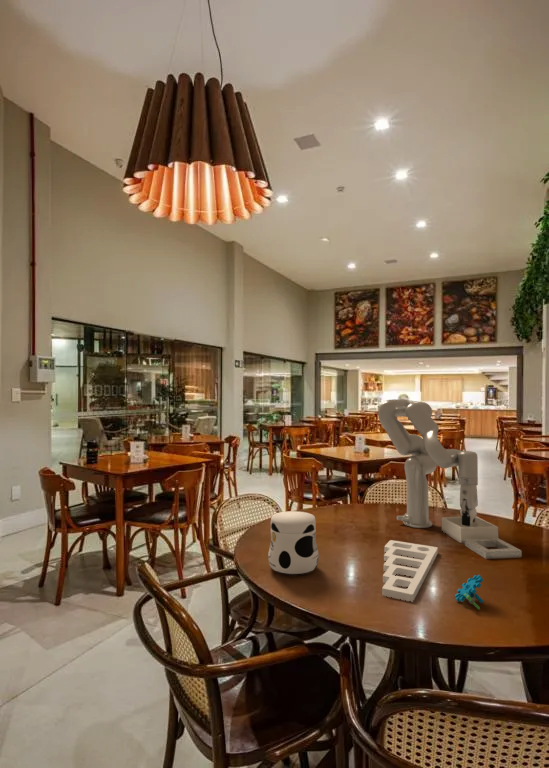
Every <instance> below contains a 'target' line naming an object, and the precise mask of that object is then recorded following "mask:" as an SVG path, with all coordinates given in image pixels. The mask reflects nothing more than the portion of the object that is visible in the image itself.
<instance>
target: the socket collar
mask: <svg viewBox="0 0 549 768" xmlns="http://www.w3.org/2000/svg"><path fill="white" fill-rule="evenodd" d="M464 546H465V547H466V548H468V549H469V550H471V551H473V552H474V553H476V554H477V555H479V556H481V557H482V558H484V560H490V559H491V560H492V559H513V558H522V554H523V553H522V549H519V548H517V547H516V546H514V545H512V544H511V543H508V542H507V541H504V540H503V539H502V538H499V537H498V538H489V539H466V540H465V543H464ZM489 548H490V549H489Z"/></svg>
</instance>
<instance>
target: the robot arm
mask: <svg viewBox="0 0 549 768" xmlns="http://www.w3.org/2000/svg"><path fill="white" fill-rule="evenodd" d="M432 415H433V408H432V406H431V405H430V404H428V403H427V402H423V401H417V400H410V399H399V398H398V399H395V398H394V399H387V400H384V401H383V402H382V403H381V404H380V405H379V408H378V414H377V417H378V419H379V420H378V421H379V423H380V425H381V426H382V428H383V429H384V431H385V432H386V435H387V436H388V437H389V439H390V441H391V443H392V444H393V447H394V448H395V449H396V451H397V452H398V454H400V456H409V457H408V458H407V459H406V460H405V462H404V474H405V480H406V512H405V513H404V514H403V515H396V520H397V521H401V522H403V524H404V525H405V526H407V527H410V528H414V529H415V528H417V529H427V528H430V527H432V526H433V522H432V521H431V520H429V518H430V517H429V514H430V513H429V483H428V479H427V475H428V474H429V475H430V474H432V473H434V472H435V471H436V469H437V466H438V467H439V468H441V469H448V468H452V467H458V468H457V469H458V470H457V471H458V472H457V473H458V481H457V482H458V484H459V485H460V488H459V490H460V491H459V507H460V509H461V510H462V515H461V517H462V525H465V526H470V516H469V514H470V509H471V510H473V509H474V508H475V509H477V507H478V504H479V503H478V502H479V499H478V497H479V496H478V487H477V486H478V485H479V478H478V477H479V476H478V475H479V473H478V470H479V469H478V466H479V463H478V462H479V461H478V459H479V458H478V453H477V452H475V451H471V450H460V449H456V448H449V449H445V447H444V446H443V445H442V443H441V442H440V440H439V438H438V432H439V425H438V424H437V422H436V421H435V420H434V419H433V418H432ZM399 417H403V418H404V417H405V418H408V420H409V421H410V422H411V424H412V425H413V427H415V429H416V430H417V432H418V433H419V435H418V434H416V433H415V434H414V433H413V434H410V433H409V432H408V431H407V429H406V428H405V426H404V425H403V423H402V422H401V421H400V420H399V419H398V418H399ZM466 507H468V508H466ZM466 510H468V513H467V511H466ZM473 522H475V518H474V520H473Z"/></svg>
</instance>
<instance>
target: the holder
mask: <svg viewBox="0 0 549 768" xmlns="http://www.w3.org/2000/svg"><path fill="white" fill-rule="evenodd" d="M385 552H386V553H385ZM438 553H439V549H438V546H437V547H436V546H431V545H426V544H419V543H412V542H405V541H401V540H400V541H399V540H393V539H390V540H389V541H388V542H387V543H385V545H384V554H383V561H386V562H384V563H383V570H382V571H383V572H384V571H385V572H384V573H383V575H382V583H383V586H382V588H381V589H382V590H381V591H382V592H381V593H382V595H381V596H382V597H386V596H387V598H391V597H392V598H391V599H397V600H400V599H401V600H400V601H405V600H406V601H405V602H409V601H411V603H413V602H414V601H415V599H416V597H417V595H418V593H419V590H420V589H421V588H422V584H423V583H424V581H425V579H426V577H427V575H428V573H429V572H430V570H431V568H432V565H433V563H434V562H435V560H436V558H437V556H438ZM401 555H402V556H401ZM407 556H408V557H407ZM413 557H414V558H413ZM400 564H401V565H400ZM406 565H407V566H406ZM411 566H412V567H411ZM396 574H397V575H396ZM399 574H400V575H399ZM395 575H396V576H395ZM404 575H406V576H404ZM409 576H411V577H410V578H409ZM401 586H402V587H401ZM406 587H408V588H406ZM413 600H414V601H413Z"/></svg>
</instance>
